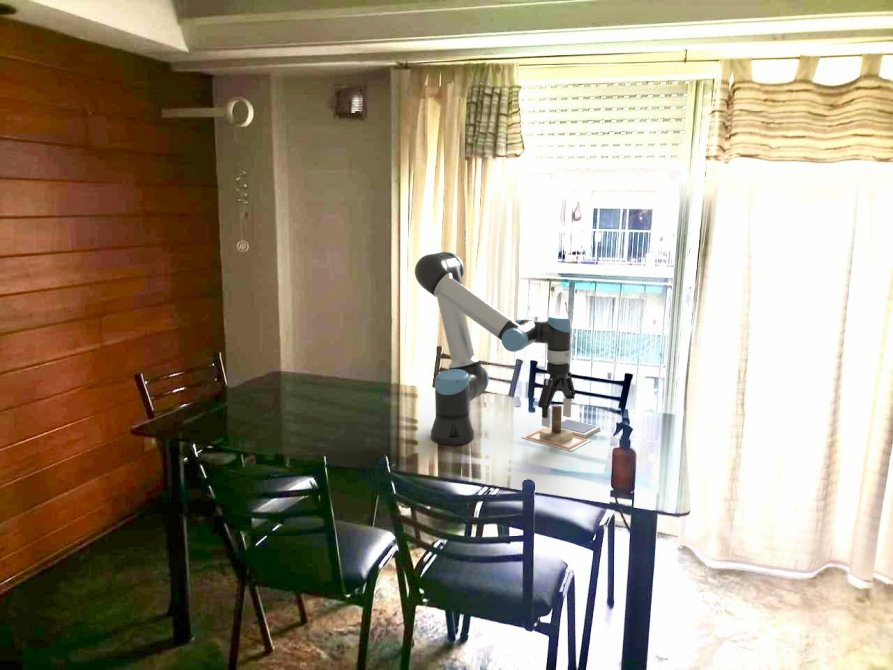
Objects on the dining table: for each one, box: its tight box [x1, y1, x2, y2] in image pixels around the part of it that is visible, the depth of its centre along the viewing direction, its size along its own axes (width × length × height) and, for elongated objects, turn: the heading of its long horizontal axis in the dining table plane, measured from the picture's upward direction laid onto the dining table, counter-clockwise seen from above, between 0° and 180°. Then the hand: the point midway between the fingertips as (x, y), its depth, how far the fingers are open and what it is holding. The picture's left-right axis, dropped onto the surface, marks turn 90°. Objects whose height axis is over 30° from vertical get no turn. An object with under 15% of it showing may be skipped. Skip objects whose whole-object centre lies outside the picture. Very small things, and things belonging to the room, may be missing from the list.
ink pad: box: [550, 418, 601, 439], centre depth 239 cm, size 14×11×1 cm
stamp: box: [540, 404, 574, 444], centre depth 228 cm, size 9×7×12 cm
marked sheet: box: [521, 427, 592, 452], centre depth 230 cm, size 20×13×1 cm, turn 49°
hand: (556, 421), depth 228 cm, fingers open, 13 cm apart
